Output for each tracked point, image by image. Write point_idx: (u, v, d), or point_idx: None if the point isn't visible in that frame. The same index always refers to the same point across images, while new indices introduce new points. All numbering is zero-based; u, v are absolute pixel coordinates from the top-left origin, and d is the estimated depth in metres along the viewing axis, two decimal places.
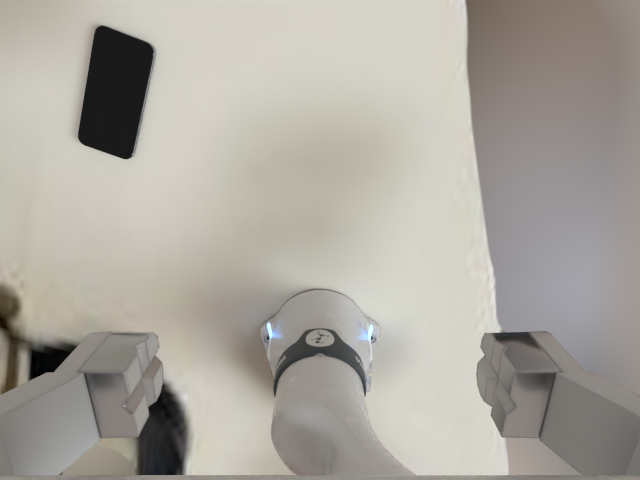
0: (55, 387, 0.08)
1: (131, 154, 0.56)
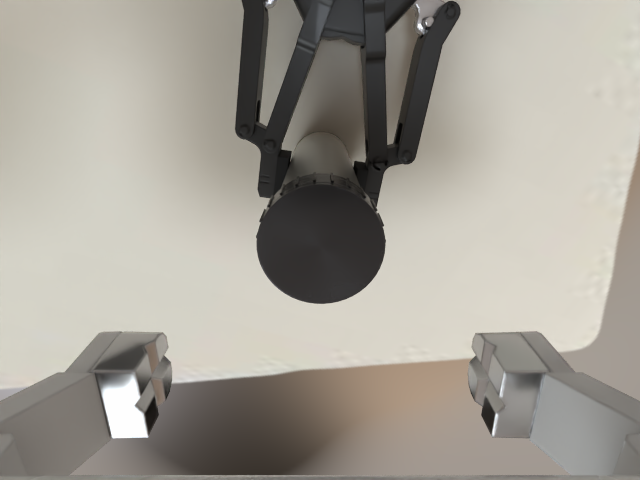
0: (66, 387, 0.08)
1: None
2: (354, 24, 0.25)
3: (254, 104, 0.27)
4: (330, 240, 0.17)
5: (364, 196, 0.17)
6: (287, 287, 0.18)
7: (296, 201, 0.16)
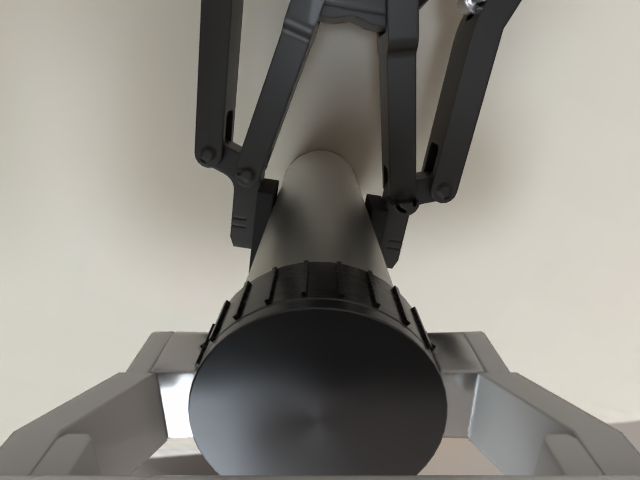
0: (131, 387, 0.08)
1: None
2: None
3: (221, 117, 0.18)
4: (337, 408, 0.08)
5: (406, 321, 0.08)
6: None
7: (266, 339, 0.08)
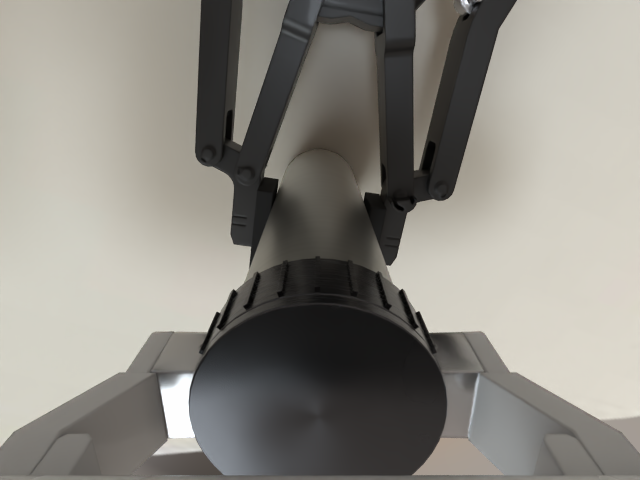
0: (131, 387, 0.08)
1: None
2: None
3: (221, 117, 0.18)
4: (302, 401, 0.08)
5: (219, 326, 0.08)
6: (400, 469, 0.09)
7: (224, 450, 0.09)
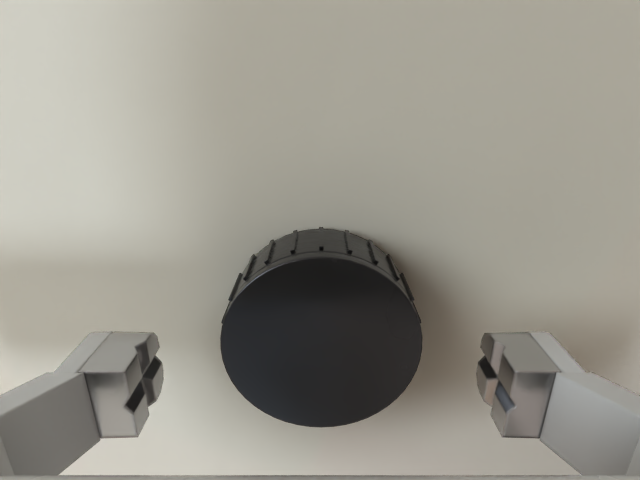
0: (55, 387, 0.08)
1: None
2: None
3: None
4: (309, 337, 0.11)
5: (245, 278, 0.11)
6: (386, 395, 0.11)
7: (247, 378, 0.11)
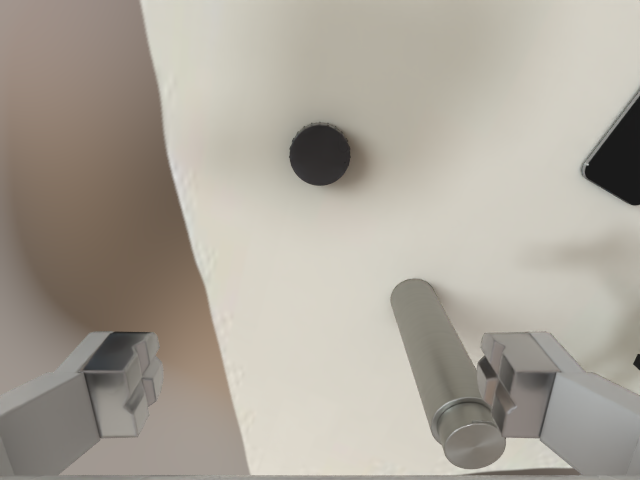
0: (55, 387, 0.08)
1: None
2: None
3: None
4: (316, 151, 0.36)
5: (297, 134, 0.36)
6: (340, 172, 0.37)
7: (297, 166, 0.37)
